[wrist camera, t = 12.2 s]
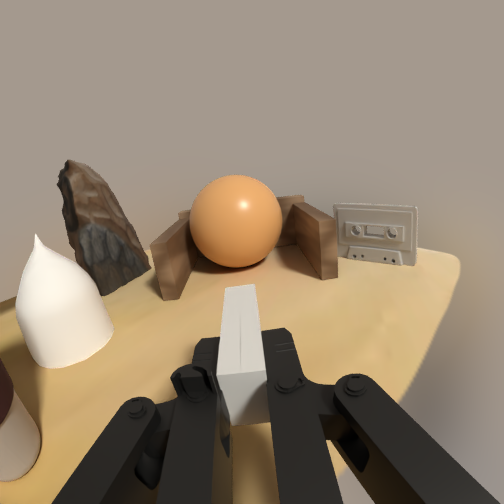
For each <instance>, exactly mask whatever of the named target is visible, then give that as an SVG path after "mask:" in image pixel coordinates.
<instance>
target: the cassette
mask: <svg viewBox="0 0 504 504" xmlns="http://www.w3.org/2000/svg"><path fill="white" fill-rule="evenodd" d="M333 208H334V209H333V211H334V219H336V233H337V257H345V258H347V259H354V260H362V261H370V262H378V263H386V264H394V265H409V266H414V265H415V264H416V260H417V235H418V208H417V207H416V206H404V205H385V204H359V203H336V204H334V205H333ZM356 226H358V227H359V229H360V232H358V231H357V230H356V228H355V227H356ZM367 226H379V227H384V235H378V234H367ZM390 228H393V229H394V230H395V231H396V235H393V234H391V233H390Z"/></svg>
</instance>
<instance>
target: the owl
mask: <svg viewBox="0 0 504 504" xmlns="http://www.w3.org/2000/svg"><path fill="white" fill-rule="evenodd" d="M58 177H59V182H58V183H57V186H58V187H59V189H60V191H61V193H62V196H63V200H64V204H63V209H62V214H63V217H64V220H65V225H66V230H67V235H68V238H69V244H70V245H71V247H72V248H73V249H74V250H75V258H76V261H77V263H78V265H79V266H80V267H81V268H82V269H84V270H85V271H86V272H87V273H88V274H89V276H90V277H91V278H92V280H93V281H94V282H95V284H96V286H97V289H98V291H99V294H100V295H101V296H105V295H108V294H110V293H112V292H114V291H115V290H117V289H118V288H119V287H121V286H124V285H126V284H127V283H128V282H130V281H132V280H133V279H135V278H137V277H139V276H141V275H143V274H144V273H145V272H146V271H148V270H150V269H151V266H150V265H149V261H148V256H147V255H146V253H145V252H144V250H143V248H142V246H141V244H140V242H139V239H138V237H137V235H136V232H135V230H134V228H133V226H132V225H131V224H130V223H129V221H128V219H127V218H126V216H125V215H124V213H123V211H122V208H121V207H120V205H119V203H118V201H117V199H116V197H115V195H114V193H113V192H112V191H111V189H110V188H109V186H108V184H107V183H106V182H105V181H104V179H103V178H102V177H101V176H100V175H99V174H98V173H96V172H95V171H94V170H93V169H91V168H90V167H89V166H88V165H86V164H83V163H78V162H75V161H72V160H67V161H66V162H65V167H64V169H62V170H61V171H60V174H59V176H58Z"/></svg>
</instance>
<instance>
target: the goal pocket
mask: <svg viewBox="0 0 504 504" xmlns="http://www.w3.org/2000/svg"><path fill="white" fill-rule="evenodd" d="M276 199H277V201H278V203H279V205H280V208H281V213H282V229H281V234H280V237H279V239H278V241H277V243H276V245H275V247H277V246H285V245H292V244H297V245H298V247H299V248H300V250H301V251H302V252H303V254H304V255H305V257H306V258H307V259H308V261H309V262H310V264H311V265H312V266H313V268H314V269H315V271H316V272H317V273H318V275H319V276H320V278H321V279H322V280H325V279H331V278H337V277H338V258H337V233H336V219H334V218H332V217H331V216H329V215H327V214H325V213H323V212H321V211H320V210H318V209H316V208H314V207H313V206H310V205H309V204H307V203H305V202H304V196H302V195H294V196H285V197H276ZM190 211H191V210H185V211H181V212H179V213H178V215H179V220H178V221H177V222H175V223H174V224H173V225H172V226H171V227H170V228H168V229H167V230H166V231H165V232H164V233H163V234H161V235H160V236H159V237H158V238H157V239H156V240H155V241H153V242H152V243H151V244H150V249H151V253H152V257H153V262H154V266H155V270H156V274H157V278H158V282H159V286H160V289H161V293H162V297H163V300H174V299H179V298H180V296H181V293H182V291H183V289H184V287H185V285H186V282H187V280H188V278H189V276H190V274H191V271H192V269H193V267H194V265H195V263H196V260H197V258H198V257H203V256H205V255H204V254H203V253H202V252H201V251H200V250H199V249H198V247H197V246H196V244H195V242H194V240H193V238H192V235H191V231H190Z"/></svg>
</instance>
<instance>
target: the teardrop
mask: <svg viewBox="0 0 504 504" xmlns="http://www.w3.org/2000/svg"><path fill="white" fill-rule="evenodd" d="M15 305H16V319H17V321H18V324H19V327H20V329H21V332H22V334H23V337H24V339H25V342H26V344H27V347H28V349H29V351H30V353H31V356H32V358H33V359H34V360H35V361H36V362H37V364H38V365H39V366H42V367H46V368H64V367H66V366H69V365H72V364H75V363H78V362H80V361H83V360H86V359H87V358H88V357H90V356H91V355H93V354H94V353H96V352H97V351H98V350H100V349H101V348H103V347H104V346H105V345H106V343H107V342H108V341H109V340H110V338H111V337H112V334H113V331H114V326H113V324H112V322H111V319H110V317H109V315H108V313H107V310H106V308H105V306H104V303H103V301H102V298H101V296H100V294H99V291H98V289H97V286H96V284H95V282H94V281H93V280H92V278H91V277H90V276H89V274H88V273H87V272H86V271H85V270H84V269H82V268H81V267H80V266H79V265H78V264H77V263H76V262H74V261H72V260H70V259H68V258H66V257H64V256H62V255H60V254H58V253H56V252H54V251H53V250H51V249H49V248H48V247H46V246H44V245H43V244H42V242H41V241H40V239H39V238H38V236H37V235H36V234H35V241H34V249H33V251H32V253H31V255H30V258H29V260H28V262H27V264H26V266H25V269H24V271H23V273H22V277H21V281H20V285H19V289H18V294H17V299H16V304H15Z"/></svg>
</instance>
